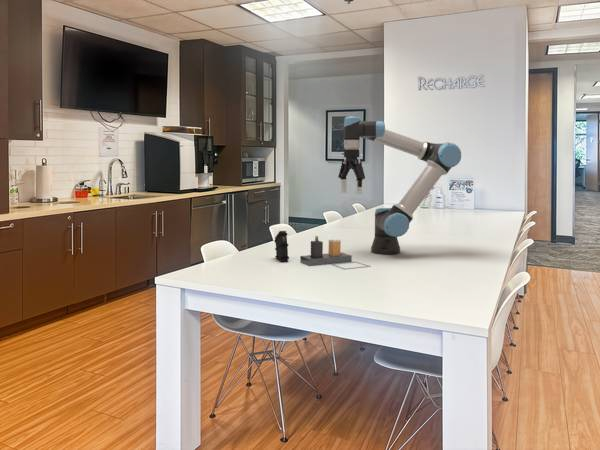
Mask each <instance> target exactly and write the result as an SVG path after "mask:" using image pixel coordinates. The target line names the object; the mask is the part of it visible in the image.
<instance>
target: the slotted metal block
mask: <svg viewBox="0 0 600 450" xmlns="http://www.w3.org/2000/svg"><path fill="white" fill-rule="evenodd" d="M352 257H353V255H352V254H350V253H349V254H348V253H344V252H342V251H340V256H331V255H329V253H323V257H320V258H313V257H311V254H310V255H309V254H308V255H301V256H300V258H299V259H300V263H301V264H303V265H306V266H308V267H313V266H316V267H317V266H325V265H326V266H327V265H330V264H336V263H346V262H353V261H352V259H353V258H352ZM346 264H347V263H346ZM336 265H337V264H336Z"/></svg>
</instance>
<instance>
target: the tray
mask: <svg viewBox="0 0 600 450" xmlns="http://www.w3.org/2000/svg"><path fill="white" fill-rule="evenodd" d="M353 263H354V264H355V263H356V264H359V265H362V266H355V267H348V268H346V267H345V268H344V267H342V266H339V265H344V264H345V265H346V264H353ZM329 265H330V266H333V267H336V268H338V269H341V270H344V271H345V270H353V269H354V270H355V269H363V268H371V267H372V265H370V264H369V265H368V264H366V263H362V262H359V261H357V260H355V261H352V262H346V263H336V264H329Z"/></svg>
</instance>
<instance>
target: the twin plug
mask: <svg viewBox="0 0 600 450" xmlns="http://www.w3.org/2000/svg"><path fill="white" fill-rule="evenodd" d="M323 247H324V242H323V241H321V240H319V236H318V235H315V236H314V240H310V255H311V257H313V258H320V257H323V254H324V253H323V251H324V248H323Z"/></svg>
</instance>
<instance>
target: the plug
mask: <svg viewBox="0 0 600 450" xmlns="http://www.w3.org/2000/svg"><path fill="white" fill-rule="evenodd" d="M341 241H342V240H341V239H337V238H334V239H328V254H329V255H331V256H340V252H341Z"/></svg>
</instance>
